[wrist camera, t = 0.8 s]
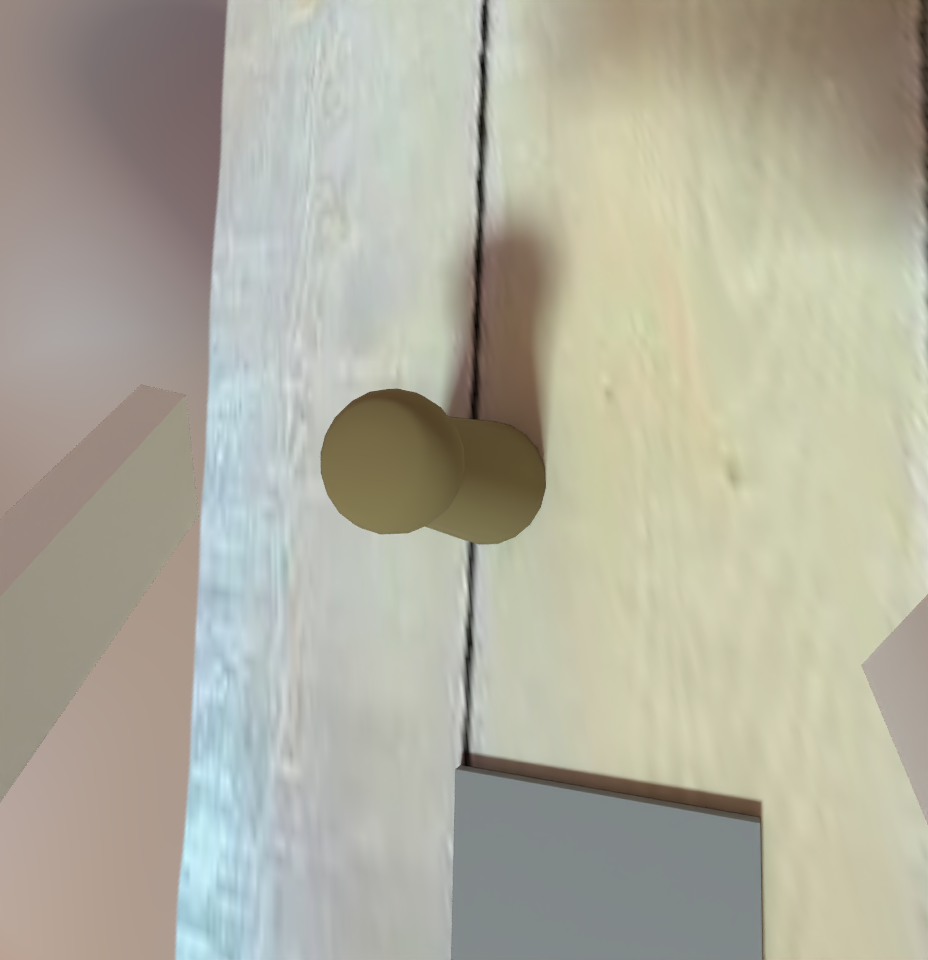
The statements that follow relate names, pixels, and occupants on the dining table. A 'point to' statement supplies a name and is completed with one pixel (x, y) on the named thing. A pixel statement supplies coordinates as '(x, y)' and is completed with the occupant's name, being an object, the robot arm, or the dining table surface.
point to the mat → (599, 875)
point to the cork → (430, 470)
